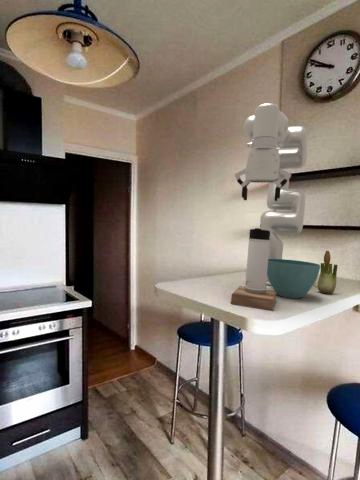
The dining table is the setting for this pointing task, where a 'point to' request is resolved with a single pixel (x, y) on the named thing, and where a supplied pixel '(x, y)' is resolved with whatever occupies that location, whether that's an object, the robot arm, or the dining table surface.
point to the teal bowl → (292, 276)
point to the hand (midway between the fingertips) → (260, 200)
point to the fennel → (325, 261)
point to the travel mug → (257, 261)
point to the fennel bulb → (327, 278)
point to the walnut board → (254, 299)
